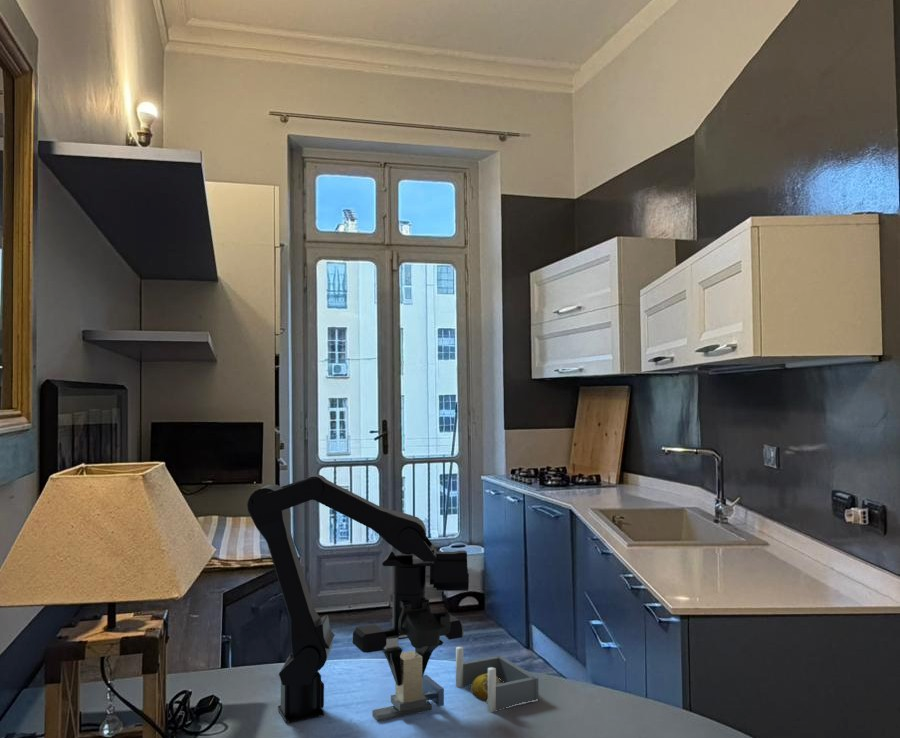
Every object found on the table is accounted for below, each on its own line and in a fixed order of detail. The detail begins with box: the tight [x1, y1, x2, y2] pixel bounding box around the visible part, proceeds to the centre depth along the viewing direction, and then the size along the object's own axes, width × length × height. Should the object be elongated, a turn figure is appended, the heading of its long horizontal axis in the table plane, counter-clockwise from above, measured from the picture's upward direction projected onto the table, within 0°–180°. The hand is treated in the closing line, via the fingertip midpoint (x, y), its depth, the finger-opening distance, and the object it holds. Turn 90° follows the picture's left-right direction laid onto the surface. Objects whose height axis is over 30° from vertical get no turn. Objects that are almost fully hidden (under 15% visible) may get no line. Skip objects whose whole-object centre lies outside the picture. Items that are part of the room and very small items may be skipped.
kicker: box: [390, 650, 445, 711], centre depth 121 cm, size 8×7×8 cm
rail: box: [372, 700, 433, 723], centre depth 120 cm, size 10×2×1 cm, turn 117°
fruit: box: [470, 673, 502, 705], centre depth 127 cm, size 8×8×4 cm
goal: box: [455, 646, 540, 713], centre depth 128 cm, size 10×13×7 cm
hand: (408, 683), depth 121 cm, fingers closed on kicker, 3 cm apart
